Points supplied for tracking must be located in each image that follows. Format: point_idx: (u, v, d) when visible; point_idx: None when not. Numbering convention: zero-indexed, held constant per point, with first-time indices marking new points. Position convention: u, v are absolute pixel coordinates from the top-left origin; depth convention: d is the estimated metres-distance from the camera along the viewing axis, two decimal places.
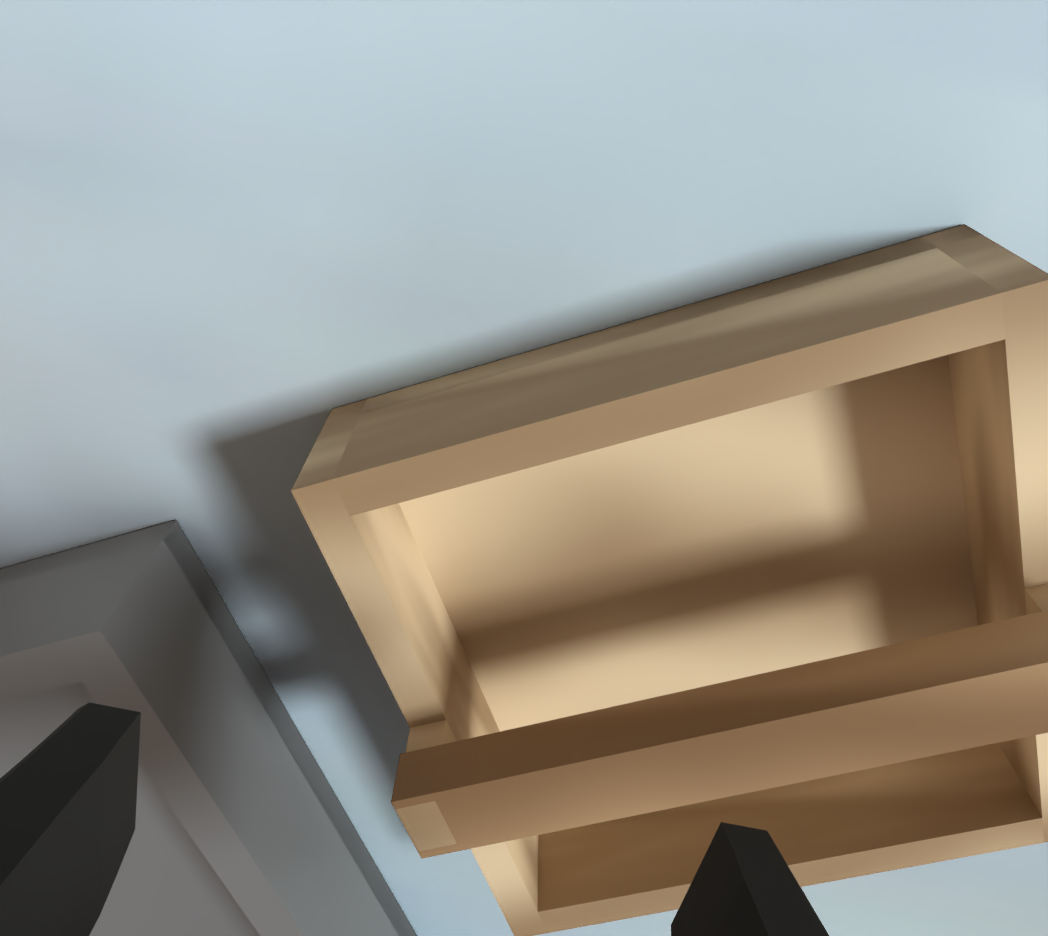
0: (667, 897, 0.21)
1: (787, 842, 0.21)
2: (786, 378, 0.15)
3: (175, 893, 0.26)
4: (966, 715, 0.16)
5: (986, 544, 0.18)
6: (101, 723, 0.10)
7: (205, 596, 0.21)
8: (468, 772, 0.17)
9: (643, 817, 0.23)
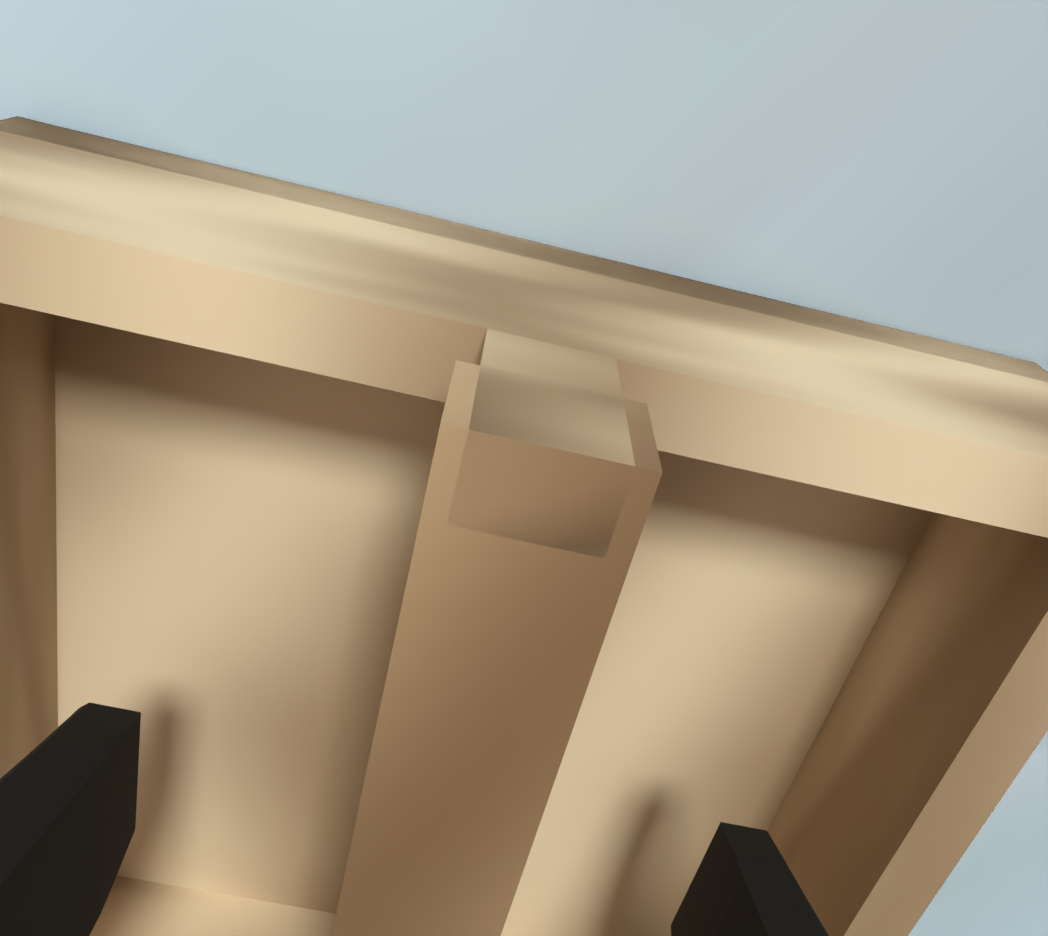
0: None
1: (856, 854, 0.12)
2: None
3: None
4: (472, 731, 0.08)
5: None
6: (101, 724, 0.10)
7: None
8: None
9: None
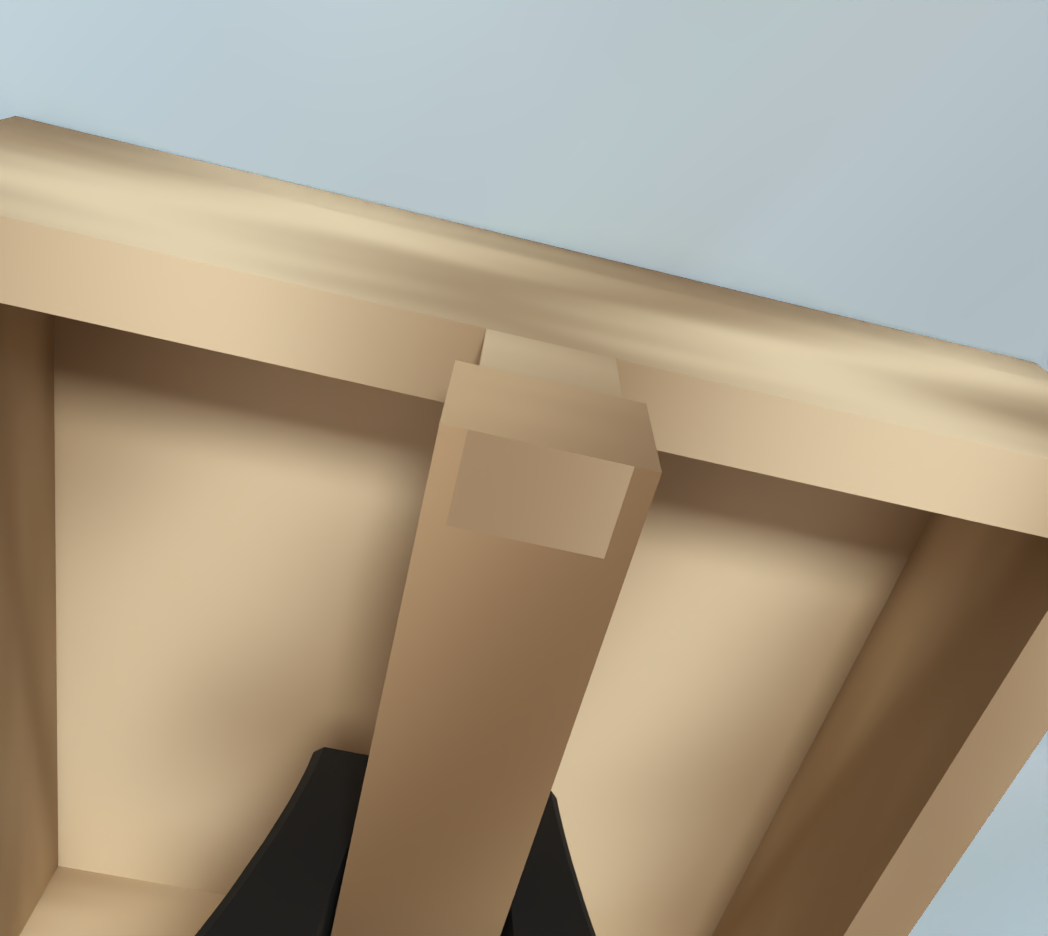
0: None
1: (857, 853, 0.12)
2: None
3: None
4: (472, 731, 0.08)
5: None
6: (344, 769, 0.10)
7: None
8: None
9: (749, 909, 0.15)
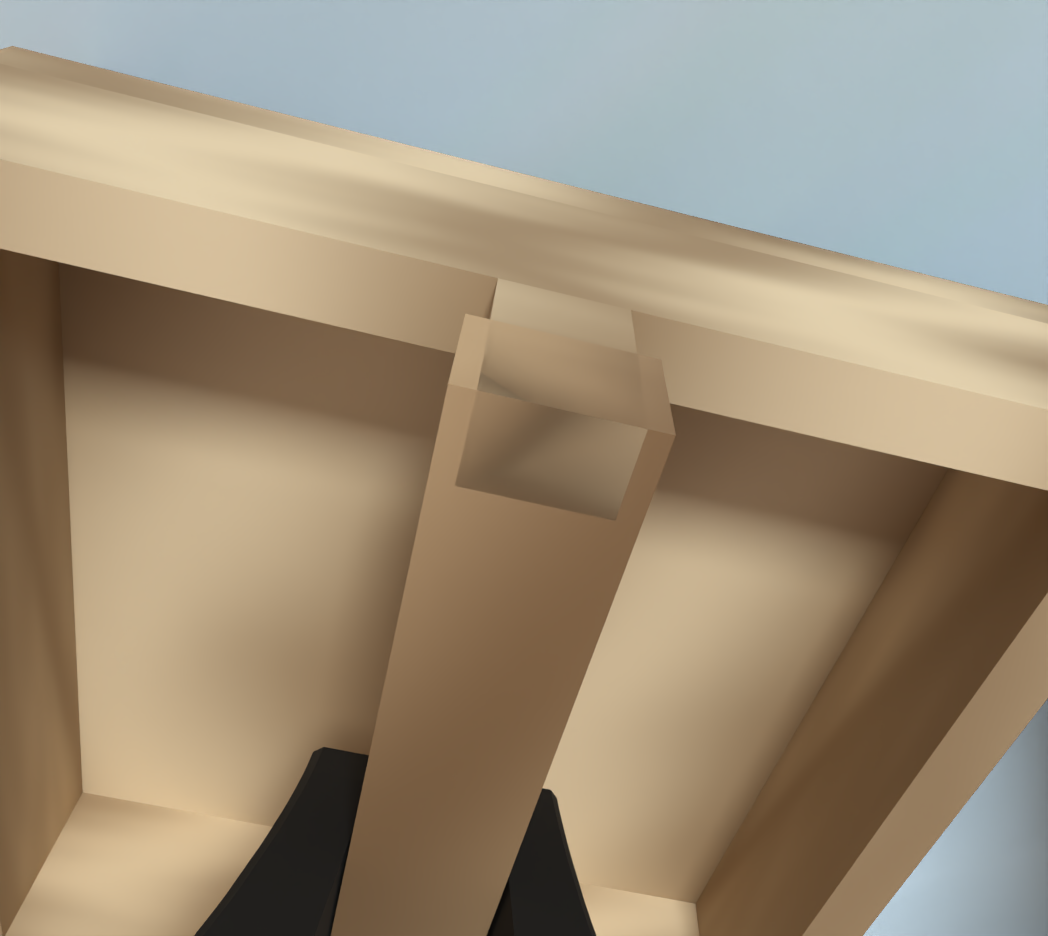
0: None
1: (862, 797, 0.12)
2: None
3: None
4: (481, 686, 0.08)
5: None
6: (344, 769, 0.10)
7: None
8: None
9: (753, 844, 0.15)
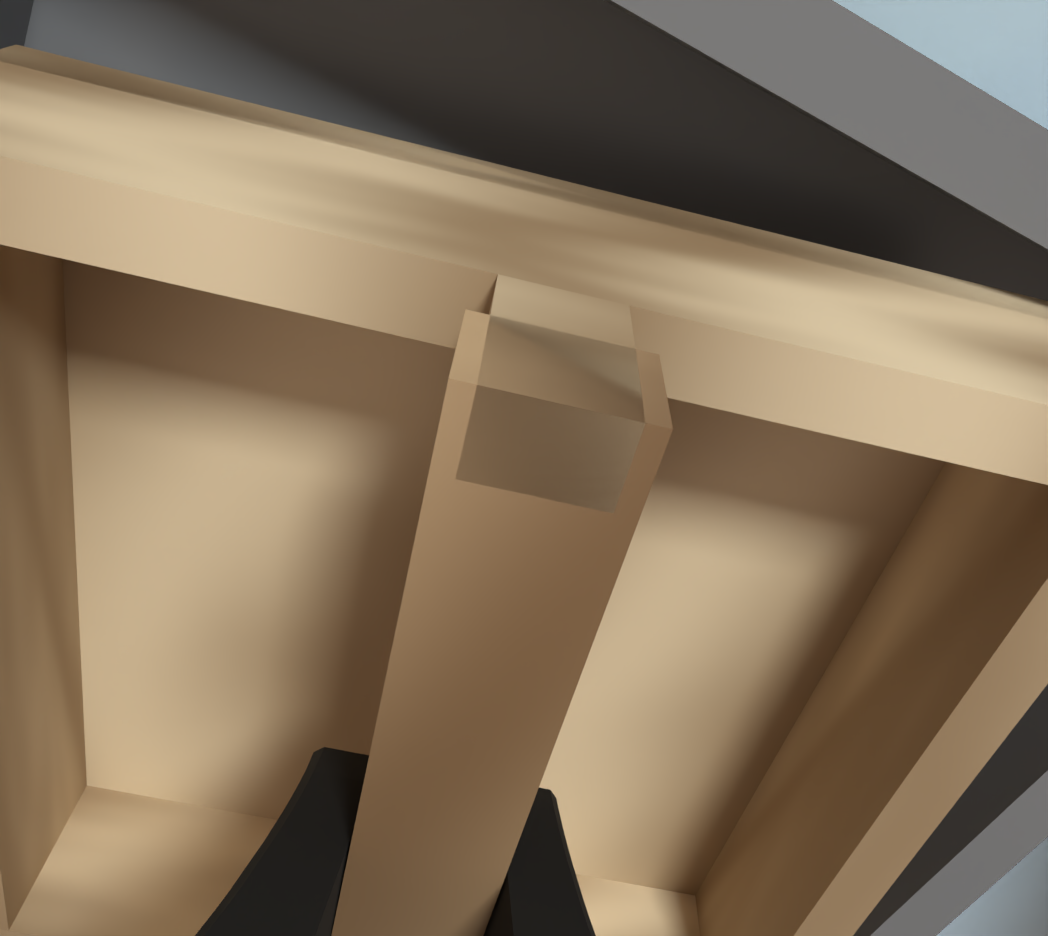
0: None
1: (859, 789, 0.12)
2: None
3: None
4: (481, 676, 0.08)
5: None
6: (345, 770, 0.10)
7: None
8: None
9: (752, 836, 0.15)
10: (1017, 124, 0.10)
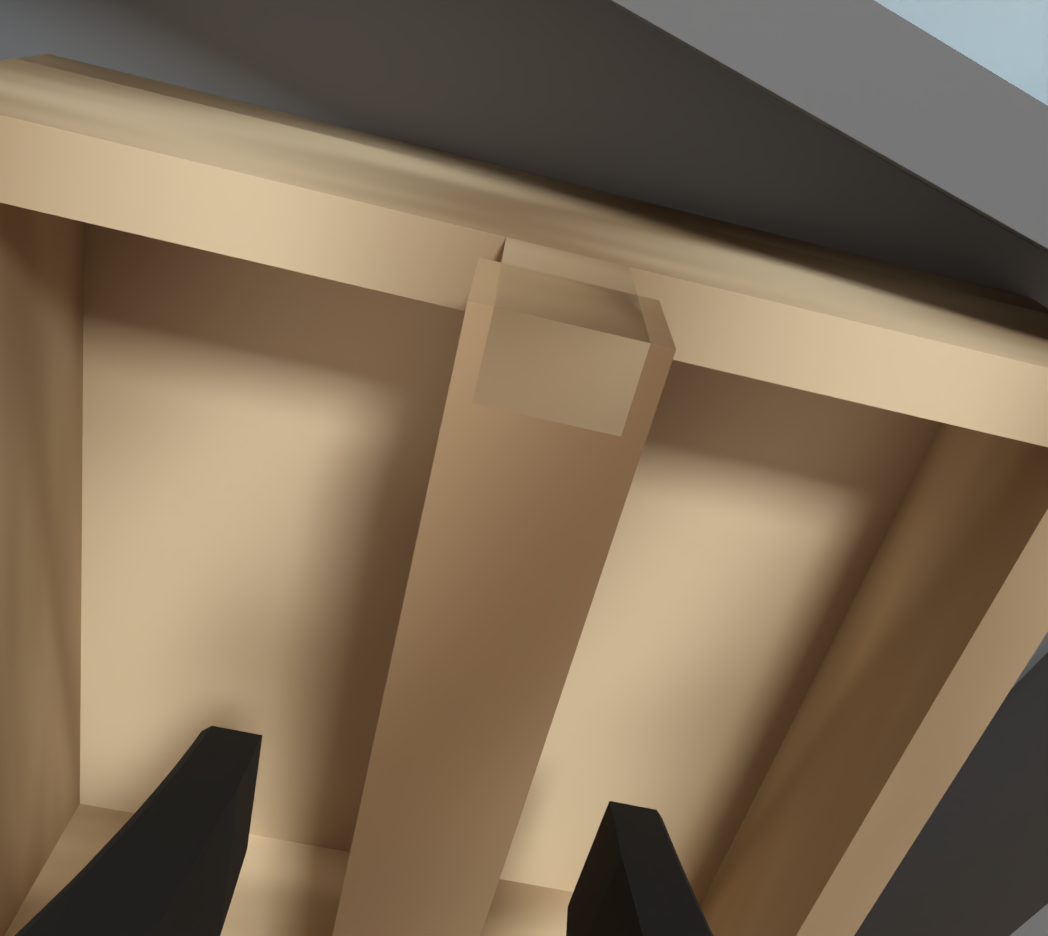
0: None
1: (858, 773, 0.12)
2: None
3: None
4: (493, 612, 0.08)
5: None
6: (229, 747, 0.10)
7: None
8: None
9: (753, 842, 0.15)
10: None
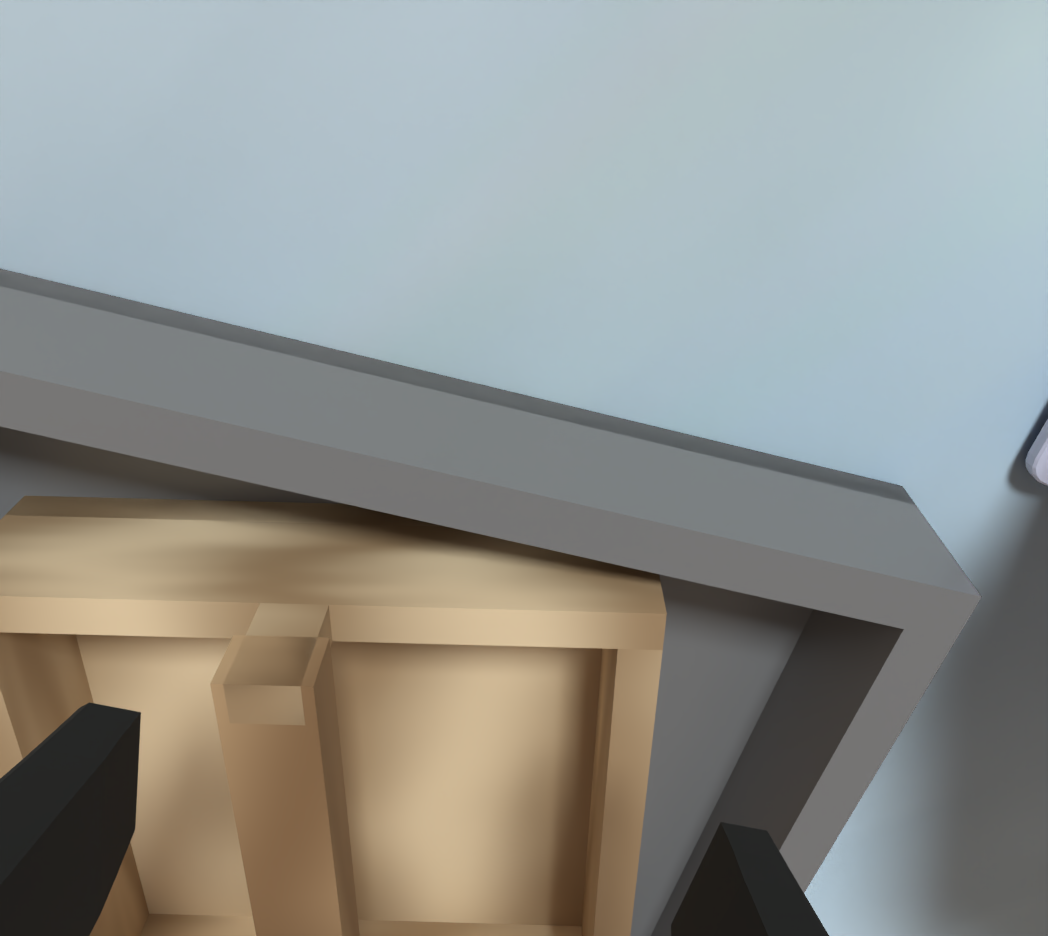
0: None
1: (598, 831, 0.19)
2: None
3: None
4: (279, 810, 0.15)
5: None
6: (102, 724, 0.10)
7: (18, 284, 0.17)
8: None
9: (587, 875, 0.22)
10: (554, 503, 0.15)
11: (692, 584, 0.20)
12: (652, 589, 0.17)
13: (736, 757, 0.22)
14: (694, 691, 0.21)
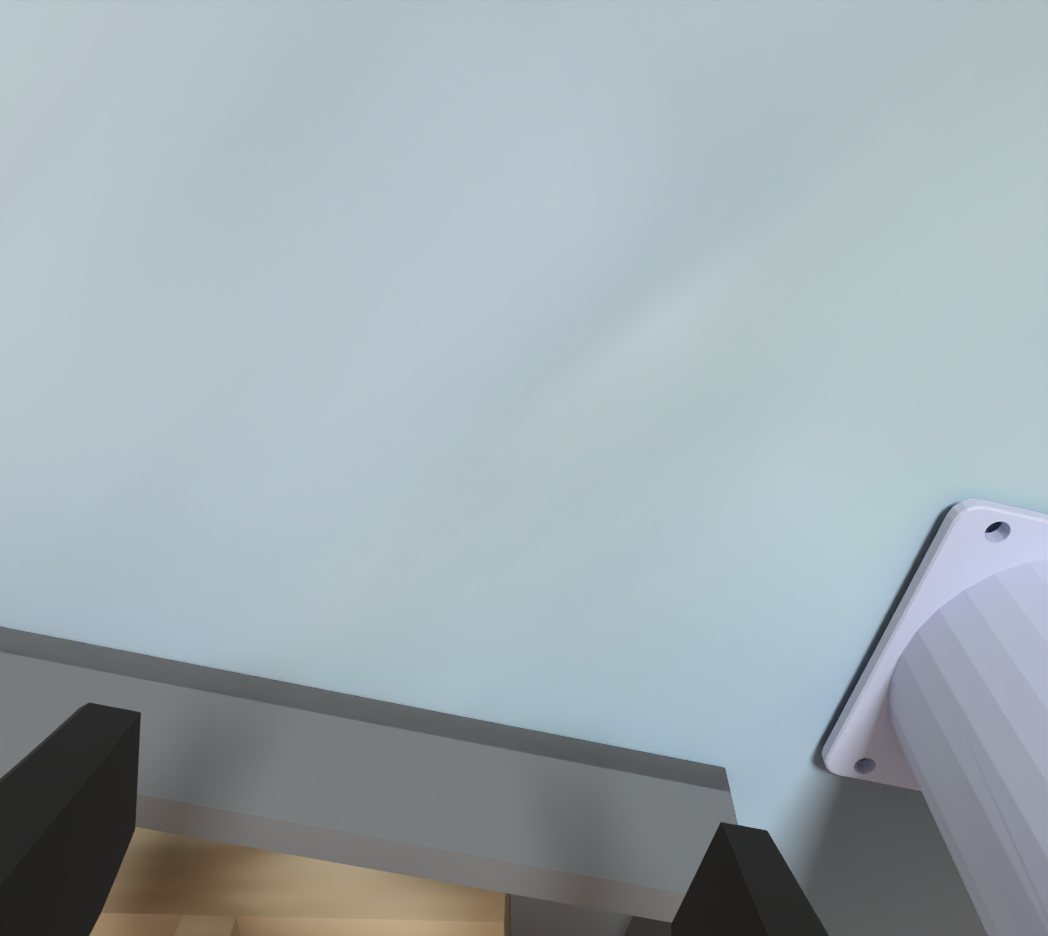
0: None
1: None
2: None
3: None
4: None
5: None
6: (101, 723, 0.10)
7: None
8: None
9: None
10: (408, 846, 0.19)
11: None
12: (496, 893, 0.21)
13: None
14: (564, 922, 0.25)
